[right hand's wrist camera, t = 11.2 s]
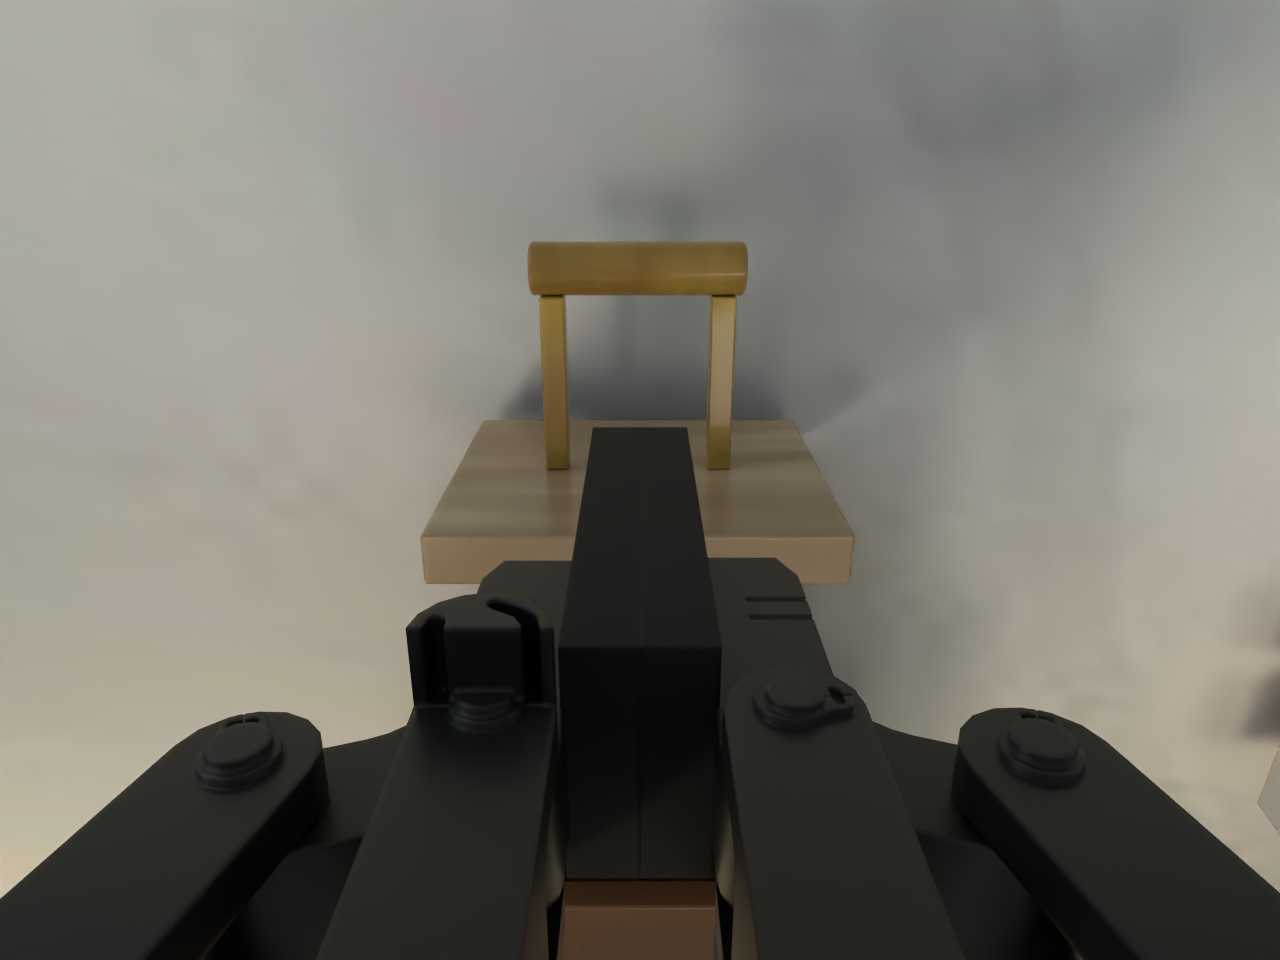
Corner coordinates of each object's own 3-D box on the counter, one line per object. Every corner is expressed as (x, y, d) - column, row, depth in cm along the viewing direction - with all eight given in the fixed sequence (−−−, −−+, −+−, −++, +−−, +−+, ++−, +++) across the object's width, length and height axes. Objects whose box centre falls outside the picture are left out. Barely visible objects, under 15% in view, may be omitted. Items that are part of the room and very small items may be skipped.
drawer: (469, 225, 25) (393, 267, 17) (806, 225, 25) (881, 267, 17) (514, 900, 34) (476, 1131, 26) (762, 900, 34) (799, 1130, 26)
